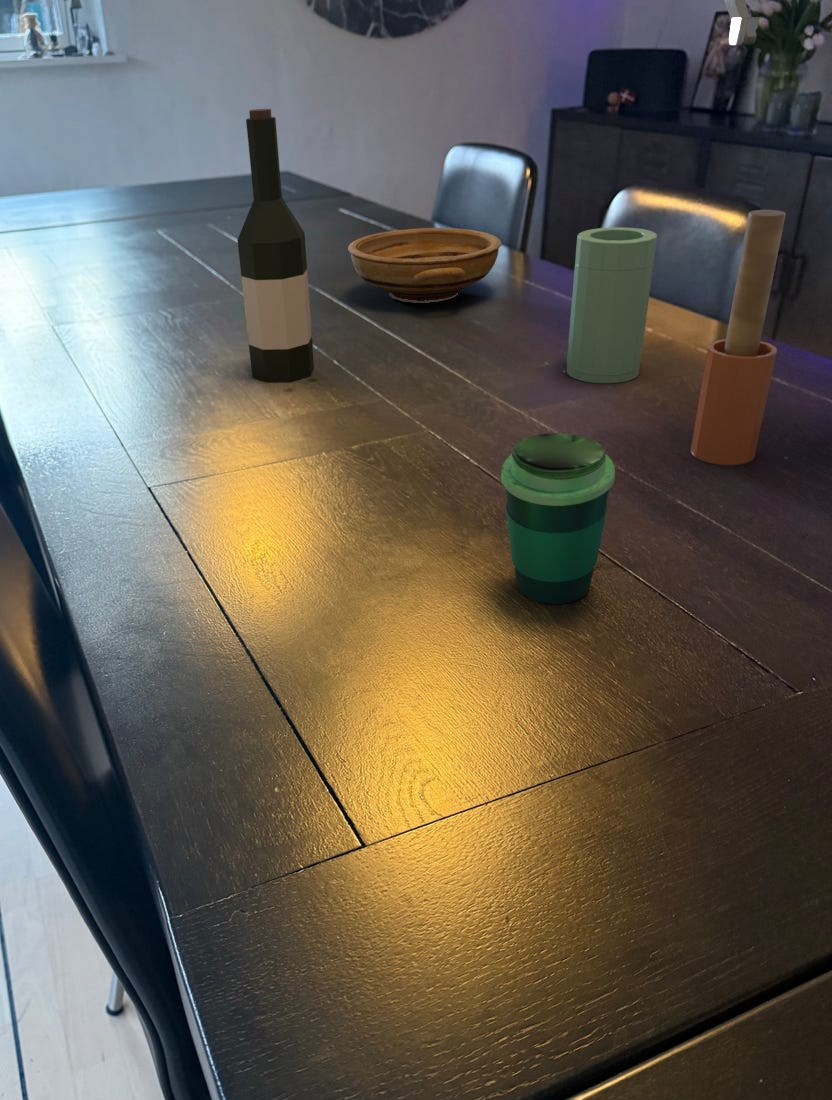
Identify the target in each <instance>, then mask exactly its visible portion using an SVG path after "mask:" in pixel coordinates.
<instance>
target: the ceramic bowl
mask: <svg viewBox="0 0 832 1100" xmlns="http://www.w3.org/2000/svg"><path fill="white" fill-rule="evenodd" d="M501 246H502V240H501V239H500V238H499V237H498V236H496V235H493V234H491V233H488V232H484V231H479V230H474V229H468V228H467V229H465V228H455V227H454V228H452V227H451V228H450V227H421V228H407V229H397V230H389V231H383V232H378V233H373V234H370V235H366V236H363V237H360V238H358V239H356V240H353V241H352V242H350V244H349V245H348V247H347V249H348V252H349V254H350V258H351V261H352V265H353V267H354V269H355V272H356V273H357V275H358V276H359V277H360V278H361V279H362V280H363V281H364V282H365V283H367V284H369V285H371V286H373V287H375V288H377V289H380V290H383V291H385V292H387V293H389V295H390V294H391V295H393V296H394V297H397V298H401V299H408V300H417V301H425V300H427V301H428V300H439V299H445V298H449V297H452V296H454V295H456V294H457V293H458V292H459V293H460V291H461V290H463V289H465V288H468V287H469V286H471V285H474V284H476V283H478V282H479V281H481V280H483V279H484V278H486V276H487V275H488V274H490V271H491V270H492V269H493V268H494V266H495V264H496V261H497V259H498V255H499V249H500V248H501Z"/></svg>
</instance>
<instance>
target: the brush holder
mask: <svg viewBox="0 0 832 1100" xmlns="http://www.w3.org/2000/svg"><path fill="white" fill-rule="evenodd" d="M725 342H726V338H724V339H717V340H715V341H712V342H710V343H708V346H707V351H706V356H705V364H704V368H703V375H702V381H701V387H700V393H699V397H698V405H697V411H696V415H695V422H694V428H693V433H692V440H691V445H690V453H691V455H692V456H693V457H695V458H696V459H698V460H699V461H702V462H705V463H709V464H713V465H720V466H737V465H744V464H747V463H749V462H751V461H753V460H754V459H755V458H756V453H757V449H758V443H759V439H760V434H761V429H762V424H763V419H764V416H765V415H764V414H765V410H766V405H767V400H768V395H769V391H770V386H771V381H772V377H773V372H774V368H775V362H776V358H777V352H778V348H777V347H776V346H775V345H773V344H772V343H769V342H765V341H763V340H760V345H759V350H758V355H757V356H734V355H728V354H724V348H725Z"/></svg>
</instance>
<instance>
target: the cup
mask: <svg viewBox="0 0 832 1100" xmlns="http://www.w3.org/2000/svg"><path fill="white" fill-rule="evenodd" d="M500 472H501V473H500V479H501V484H502V485H503V487H504V488H505V495H506V504H505V509H506V510H505V511H506V521H507V528H508V537H509V547H510V555H511V561H512V562H511V563H512V564H513V566H514V573H515V575H514V576H515V583H516V586H517V589H518V591H519V592H520V593H521V595H523V596H524V595H525V596H524V597H525V598H527V599H529V600H532V601H533V600H534V602H537V603H540V602H541V604H545V603H546V605H565V604H570V603H571V604H572V603H573V602H577V601H579V600H580V599H582V598H583V597H584V596H585V595H586V594H587V593H588V591H589V590H590V588H591V583H592V579H593V575H594V574H593V573H594V569H595V566H596V565H597V562H598V556H599V551H600V546H601V541H602V537H603V532H604V527H605V522H606V517H607V513H608V512H607V511H608V498H609V494H610V489H611V488H612V487H613V484H614V483H615V480H616V479H615V478H616V470H615V464H614V462H613V460H612V459H611V458H610V456H609V455H608V454H606V451H605V448H604V446H603V445H602V444H601V443H599V442H598V441H597V440H595V439H592V438H589V437H586V436H583V435H580V434H573V433H563V432H562V433H561V432H552V433H550V432H549V433H540V434H535V435H531V436H527V437H526V438H523V439H522V440H520V441H519V442H518V443H516V445H515V446H514V448H513V449H512V452H511V454H510V455H509V456H508V457H507V458H506V459H505V460H504V462H503V464H502V466H501V471H500Z"/></svg>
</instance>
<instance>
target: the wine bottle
mask: <svg viewBox="0 0 832 1100" xmlns="http://www.w3.org/2000/svg"><path fill="white" fill-rule="evenodd" d="M248 113H249V117H248V118H246V119H245V123H246V133H247V143H248V144H247V145H248V153H249V154H248V155H249V165H250V175H251V184H252V197H253V201H252V203H251V205H250V208H249V211H248V213H247V216H246V218H245V220H244V223H243V225H242V228H241V230H240V232H239V235H238V237H237V249H238V259H239V269H240V275H241V276H240V277H241V284H242V285H241V287H242V296H243V305H244V314H245V322H246V323H245V324H246V331H247V332H246V333H247V342H248V350H249V362H250V369H251V377H252V378H255V379H256V380H260V381H262V382H265V383H291V382H295V381H298V380H301V379H302V380H303V379H305V378H308V377H311V376H312V374H313V371H314V369H315V363H314V362H315V361H314V347H313V337H312V336H313V334H312V319H311V318H312V317H311V306H310V290H309V289H310V288H309V276H308V261H307V248H306V233H305V231H304V229H303V228H302V226H301V225H300V223H299V221H298V220H297V218H296V217H295V215H294V214H293V212H292V211H291V209H290V207H289V206H288V205H287V203H286V201H285V199H284V198H283V194H282V183H281V181H282V180H281V170H280V155H279V145H278V144H279V143H278V130H277V119H276V117H275V116H272V109H271V108H256V109H250V110H249V111H248Z"/></svg>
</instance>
